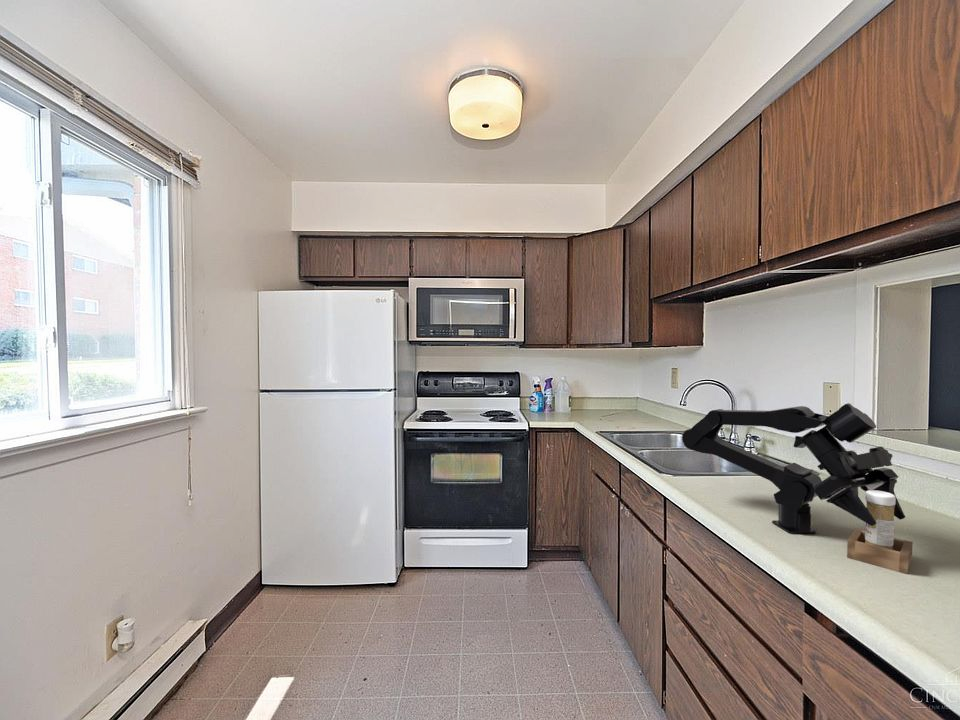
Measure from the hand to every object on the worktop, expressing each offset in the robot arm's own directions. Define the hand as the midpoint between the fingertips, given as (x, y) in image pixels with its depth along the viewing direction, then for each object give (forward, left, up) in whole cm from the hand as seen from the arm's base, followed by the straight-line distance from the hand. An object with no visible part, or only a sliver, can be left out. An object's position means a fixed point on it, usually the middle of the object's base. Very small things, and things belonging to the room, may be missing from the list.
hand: (888, 521), depth 90 cm
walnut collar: (-1, 0, -8) cm, 8 cm away
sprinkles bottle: (-1, -1, -8) cm, 8 cm away
